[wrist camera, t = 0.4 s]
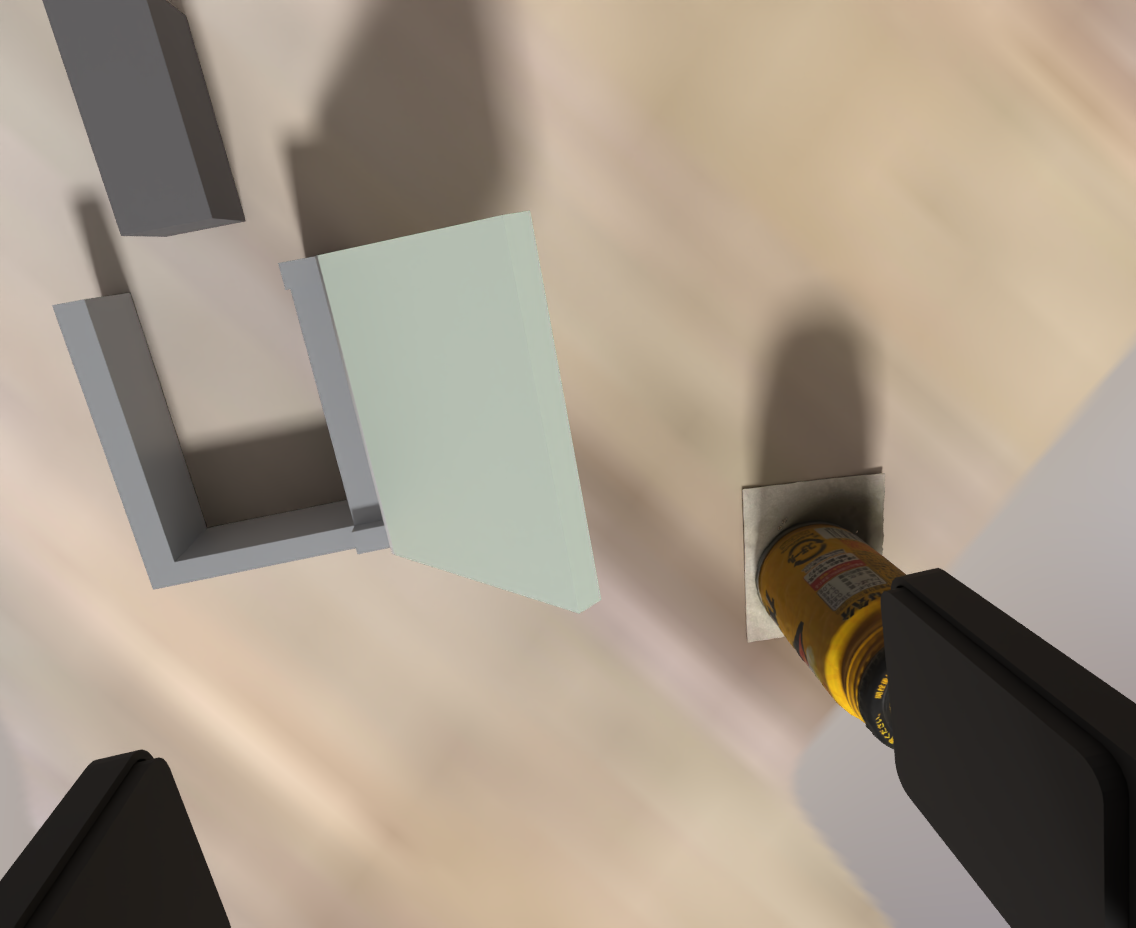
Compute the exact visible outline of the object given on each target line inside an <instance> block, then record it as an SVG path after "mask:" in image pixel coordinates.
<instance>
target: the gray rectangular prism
mask: <svg viewBox="0 0 1136 928" xmlns="http://www.w3.org/2000/svg"><path fill="white" fill-rule="evenodd" d="M43 3H44V6H45V9H46V12H47V15H48V18H49V21H50V24H51V27H52V30H53V33H54V36H55V39H56V42H57V45H58V48H59V51H60V54H61V57H62V60H63V63H64V66H65V69H66V72H67V75H68V78H69V81H70V84H71V87H72V90H73V93H74V96H75V99H76V102H77V105H78V108H79V111H80V114H81V117H82V120H83V123H84V126H85V129H86V132H87V135H88V138H89V141H90V144H91V147H92V150H93V153H94V156H95V159H96V162H97V165H98V168H99V171H100V174H101V177H102V180H103V183H104V186H105V189H106V192H107V195H108V198H109V201H110V204H111V207H112V210H113V213H114V216H115V219H116V222H117V225H118V228H119V231H120V234H121V236H158V237H167V236H172V235H177V234H182V233H187V232H193V231H198V230H203V229H208V228H213V227H219V226H224V225H229V224H234V223H239V222H245V217H244V214H243V211H242V207H241V204H240V200H239V197H238V193H237V190H236V186H235V183H234V180H233V176H232V173H231V169H230V166H229V162H228V159H227V156H226V152H225V149H224V145H223V142H222V138H221V135H220V131H219V128H218V125H217V121H216V118H215V114H214V111H213V107H212V104H211V100H210V97H209V94H208V90H207V87H206V83H205V80H204V76H203V73H202V69H201V66H200V63H199V59H198V56H197V52H196V49H195V45H194V42H193V38H192V35H191V32H190V28H189V25H188V21H187V18H186V16H185V15H184V14H183V13H181V12H180V11H179V10H178V9H176V8H175V7H174V6H172V5H171V4H170V3H168V2H167V1H166V0H43Z"/></svg>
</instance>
